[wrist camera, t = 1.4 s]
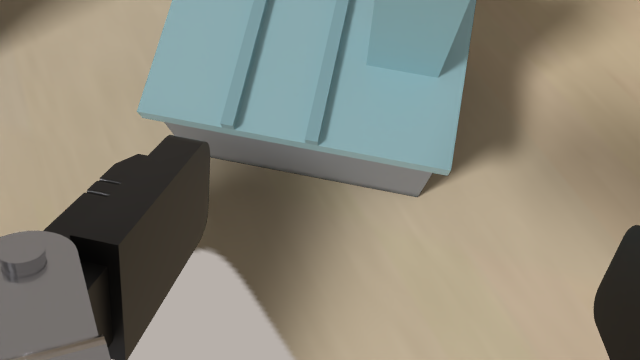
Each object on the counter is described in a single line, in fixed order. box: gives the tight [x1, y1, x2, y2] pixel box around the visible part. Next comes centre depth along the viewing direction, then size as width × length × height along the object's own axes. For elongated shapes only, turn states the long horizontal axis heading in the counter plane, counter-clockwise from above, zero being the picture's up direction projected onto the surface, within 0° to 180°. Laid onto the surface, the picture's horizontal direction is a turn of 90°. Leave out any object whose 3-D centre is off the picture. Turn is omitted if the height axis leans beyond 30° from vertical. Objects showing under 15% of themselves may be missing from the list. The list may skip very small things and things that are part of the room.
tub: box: [164, 122, 432, 197], centre depth 31 cm, size 14×10×6 cm
